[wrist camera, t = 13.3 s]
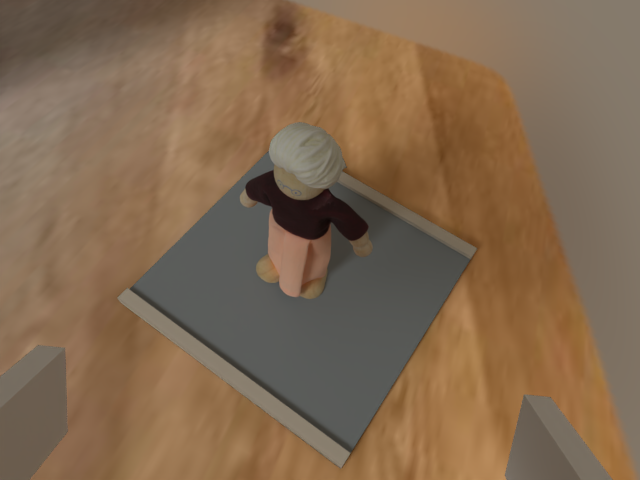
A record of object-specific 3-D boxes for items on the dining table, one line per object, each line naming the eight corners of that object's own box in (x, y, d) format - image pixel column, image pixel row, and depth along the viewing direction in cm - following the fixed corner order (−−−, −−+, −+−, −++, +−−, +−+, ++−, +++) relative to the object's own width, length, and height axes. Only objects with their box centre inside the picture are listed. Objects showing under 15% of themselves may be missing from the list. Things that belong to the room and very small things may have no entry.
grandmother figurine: (232, 286, 31) (200, 148, 20) (252, 235, 33) (233, 84, 22) (353, 319, 30) (388, 194, 20) (367, 265, 32) (405, 123, 22)
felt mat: (120, 302, 31) (117, 297, 30) (280, 142, 38) (280, 136, 37) (340, 468, 27) (341, 466, 26) (474, 253, 34) (477, 248, 33)
